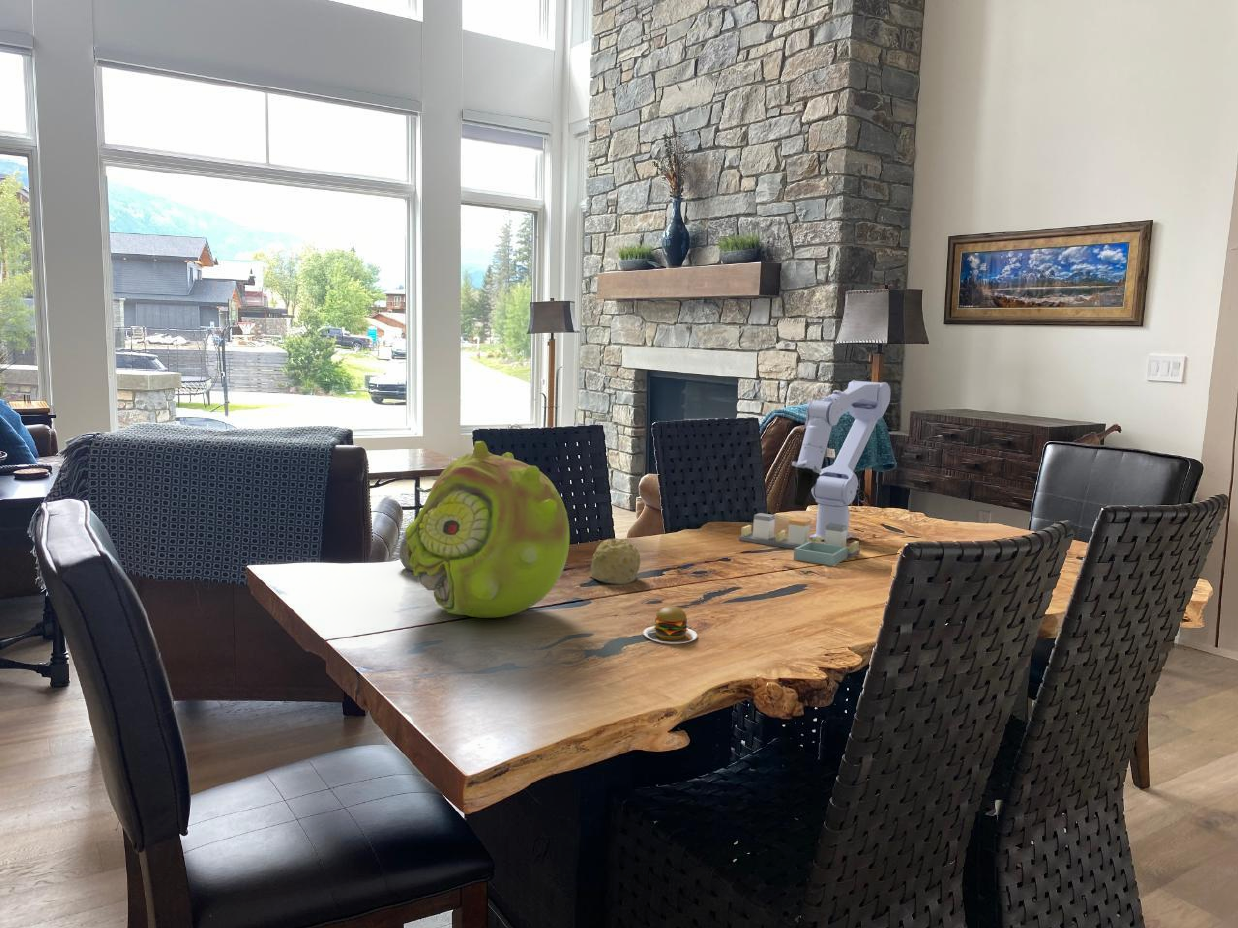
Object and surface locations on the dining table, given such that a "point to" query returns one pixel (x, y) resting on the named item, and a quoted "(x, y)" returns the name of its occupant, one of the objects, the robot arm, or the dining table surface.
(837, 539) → the block
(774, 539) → the block
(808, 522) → the block
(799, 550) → the tray
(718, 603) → the dining table surface
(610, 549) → the rock
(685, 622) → the hamburger
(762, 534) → the block
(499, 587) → the monster head
